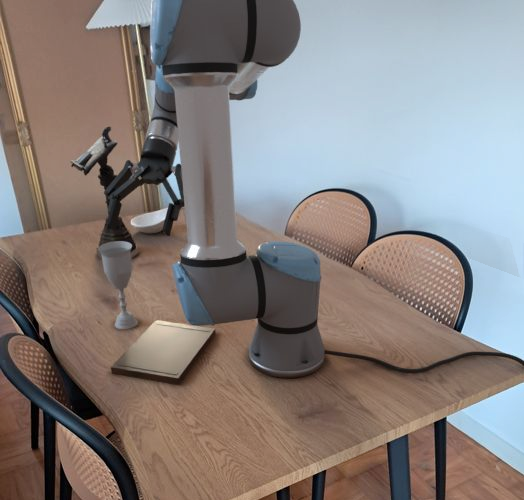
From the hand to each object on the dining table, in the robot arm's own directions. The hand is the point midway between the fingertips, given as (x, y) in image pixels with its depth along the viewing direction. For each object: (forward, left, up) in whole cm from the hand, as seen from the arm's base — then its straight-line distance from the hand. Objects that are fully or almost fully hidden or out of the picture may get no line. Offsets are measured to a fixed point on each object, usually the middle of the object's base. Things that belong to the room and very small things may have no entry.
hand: (137, 230), depth 123 cm
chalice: (0, +10, -18) cm, 21 cm away
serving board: (-14, +19, -18) cm, 30 cm away
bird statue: (+24, -26, -18) cm, 40 cm away
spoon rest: (+18, -52, -18) cm, 58 cm away
